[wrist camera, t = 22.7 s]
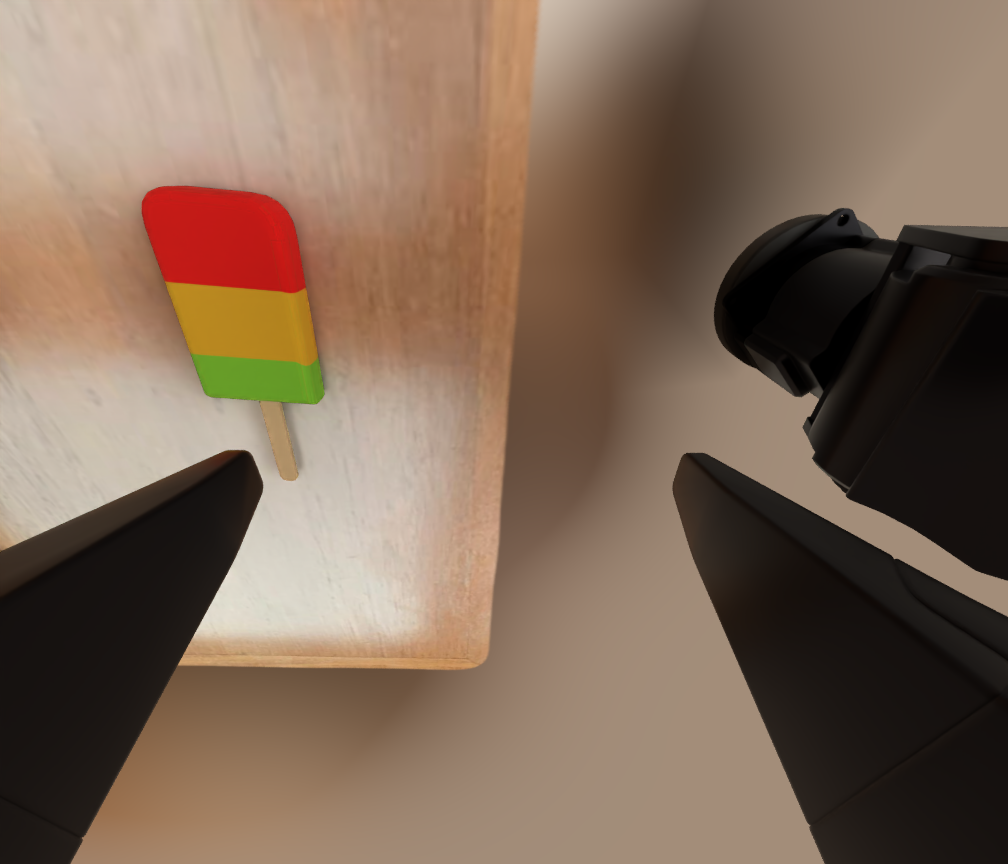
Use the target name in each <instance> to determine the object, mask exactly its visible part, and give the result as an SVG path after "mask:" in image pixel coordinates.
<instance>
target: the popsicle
mask: <svg viewBox="0 0 1008 864" xmlns="http://www.w3.org/2000/svg"><path fill="white" fill-rule="evenodd" d="M142 216H143V220H144V224H145V228H146V231H147V233H148V236H149V239H150V242H151V245H152V247H153V250H154V253H155V256H156V259H157V261H158V264H159V267H160V270H161V273H162V275H163V278H164V281H165V284H166V286H167V289H168V292H169V295H170V298H171V300H172V303H173V306H174V309H175V312H176V314H177V317H178V320H179V323H180V326H181V328H182V331H183V334H184V337H185V340H186V342H187V345H188V348H189V351H190V353H191V356H192V359H193V362H194V365H195V367H196V370H197V373H198V376H199V379H200V381H201V384H202V387H203V390H204V392H205V394H206V395H207V396H209V397H215V398H230V399H244V400H259V402H260V405H261V409H262V413H263V416H264V420H265V423H266V427H267V431H268V434H269V438H270V441H271V445H272V449H273V452H274V456H275V459H276V463H277V467H278V470H279V474H280V476H281V478H282V479H284V480H288V481H294V480H296V479H297V477H298V470H297V466H296V462H295V457H294V453H293V449H292V445H291V441H290V437H289V433H288V429H287V425H286V421H285V417H284V413H283V409H282V404H281V402H288V403H302V404H317V403H318V402H320V400H321V399H322V398H323V396H324V394H325V393H324V387H323V382H322V376H321V370H320V365H319V359H318V353H317V348H316V342H315V336H314V330H313V325H312V319H311V313H310V308H309V302H308V296H307V291H306V285H305V279H304V274H303V268H302V262H301V257H300V251H299V245H298V239H297V234H296V231H295V227H294V224H293V221H292V219H291V217H290V215H289V213H288V212H287V210H286V209H285V208H284V207H283V206H282V205H281V204H280V203H279V202H278V201H276V200H274V199H272V198H270V197H268V196H266V195H261V194H256V193H252V192H243V191H233V190H223V189H213V188H202V187H192V186H163V187H158V188H156V189H153V190H151V191H149V192H148V193H147V194H146V196H145V197H144V199H143V201H142Z"/></svg>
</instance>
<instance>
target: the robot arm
mask: <svg viewBox="0 0 1008 864" xmlns="http://www.w3.org/2000/svg"><path fill="white" fill-rule="evenodd" d="M842 215H843V219H842V221H841V222H840V223H839V224H837V222H838V219H839V218H840V217H841V216H842ZM734 298H736V302H735V303H734V304H733V305H730V302H731V300H732V299H734ZM722 307H723V308H724V310H725V312H726V313H727V315H728V316H729V318H730V319H731V321H732V322H733V324H734V325H735V327H736V329H737V331H736V332H735V335H734V339H735V340H736V342H737V343H738V345H739V346H740V348H741V349H742V351H743V352H744V354H745V355H746V357H747V358H748V360H749V361H750V363H751V364H752V366H753V367H755V368H756V369H757V370H759V371H760V372H761V373H763V374H764V375H766V376H767V377H768V378H770V379H771V380H772V381H774V382H775V383H777V384H778V385H780V386H781V387H782V388H784V389H785V390H786V391H788V392H789V393H790V394H792V395H793V396H795V397H802V396H804V395H806V394H807V393H809V392H810V393H811V394H813V395H814V396H816V397H817V398H819V401H818V403H817V405H816V407H815V409H814V411H813V413H812V415H811V416H810V417H807V419H806V421H805V423H804V425H803V429H804V431H805V433H806V435H807V436H808V439H809V441H810V443H811V445H812V447H813V449H814V451H815V454H814V456H813V458H812V459H813V460H814V462H815V463H816V465H817V466H818V467H819V468H820V469H821V470H822V471H823V472H825V473H826V474H827V475H828V476H829V477H831V479H832V480H833V481H834V483H835V484H836V485H837V486H838V487H840V488H841V490H842V491H843V492H845V493H846V497H847V498H849V499H850V500H852V501H854V502H857V503H859V504H862V505H864V506H867V507H869V508H872V509H874V510H877V511H879V512H881V513H884V514H886V515H887V516H889V517H891V518H893V519H895V520H897V521H899V522H901V523H903V524H905V525H907V526H908V527H910V528H912V529H914V530H915V531H917V532H918V533H920V534H922V535H923V536H925V537H927V538H928V539H930V540H931V541H933V542H934V543H936V544H937V545H939V546H940V547H941V548H943V549H944V550H946V551H947V552H949V553H951V554H952V555H953V556H955V557H956V558H958V559H959V560H961V561H962V562H963V563H965V564H966V565H968V566H970V567H971V568H972V569H974V570H976V571H978V572H981V573H984V574H987V575H991V576H994V577H998V578H1001V579H1004V580H1008V227H975V226H930V225H904V227H903V229H902V231H901V232H900V234H899V237H898V239H897V240H896V241H894V240H886V239H881V238H874V237H867V236H864V235H863V232H862V230H861V227H860V225H859V223H858V220H857V218H856V216H855V213H854V211H853V210H852V209H849V208H839V209H836V210H835V211H833V212H832V213H830V214H829V215H828V216H826V217H825V218H824V219H823V220H821V221H820V222H819V223H817V224H816V225H815V226H814V227H812V228H811V229H810V230H808V231H807V232H806V233H805V234H803V235H802V236H801V237H799V238H798V239H797V240H795V241H794V242H793V243H792V244H790V245H789V246H788V247H786V248H785V249H784V250H783V251H781V252H780V253H779V254H777V255H776V256H775V257H774V258H772V259H771V260H770V261H768V262H767V263H766V264H765V265H763V266H762V267H761V268H759V269H758V270H757V271H755V272H754V273H753V274H752V275H750V276H749V277H748V278H746V279H745V280H744V281H743V282H741V283H740V284H739V285H737V286H736V287H735V288H734V289H732V290H731V291H730V292H728V293H727V294H726V295H725V296H724V298H723V300H722ZM262 492H263V481H262V478H261V475H260V473H259V470H258V468H257V466H256V463H255V461H254V458H253V456H252V454H251V453H250V452H248V451H245V450H227V451H223V452H221V453H219V454H217V455H214V456H212V457H210V458H208V459H206V460H203V461H201V462H199V463H197V464H194V465H192V466H190V467H188V468H186V469H183V470H181V471H179V472H177V473H174V474H172V475H170V476H168V477H166V478H163V479H161V480H159V481H157V482H154V483H152V484H150V485H148V486H145V487H143V488H141V489H139V490H137V491H134V492H132V493H130V494H128V495H125V496H123V497H121V498H119V499H117V500H114V501H112V502H110V503H108V504H105V505H103V506H101V507H99V508H97V509H94V510H92V511H90V512H88V513H85V514H83V515H81V516H79V517H76V518H74V519H72V520H70V521H68V522H65V523H63V524H61V525H59V526H56V527H54V528H52V529H50V530H48V531H45V532H43V533H41V534H39V535H36V536H34V537H32V538H30V539H27V540H25V541H23V542H21V543H19V544H16V545H14V546H12V547H10V548H7V549H5V550H3V551H1V552H0V864H70V863H71V861H72V860H73V858H74V856H75V854H76V852H77V850H78V849H79V847H80V845H81V843H82V841H83V839H82V837H84V836H85V835H86V833H87V831H88V829H89V828H90V826H91V824H92V822H93V820H94V818H95V817H96V815H97V813H98V811H99V809H100V807H101V805H102V804H103V802H104V800H105V798H106V796H107V794H108V793H109V791H110V789H111V787H112V785H113V783H114V782H115V779H116V778H117V776H118V774H119V772H120V770H121V769H122V767H123V765H124V763H125V761H126V759H127V758H128V756H129V754H130V752H131V750H132V748H133V746H134V745H135V743H136V741H137V739H138V737H139V735H140V734H141V732H142V730H143V728H144V726H145V724H146V722H147V720H148V718H149V717H150V715H151V713H152V711H153V710H154V708H155V706H156V704H157V702H158V700H159V698H160V697H161V695H162V693H163V691H164V689H165V687H166V686H167V684H168V682H169V680H170V678H171V676H172V674H173V672H174V671H175V669H176V667H177V665H178V663H179V662H180V660H181V658H182V656H183V654H184V652H185V651H186V649H187V647H188V645H189V643H190V641H191V639H192V638H193V636H194V634H195V632H196V630H197V628H198V627H199V625H200V623H201V621H202V619H203V617H204V615H205V614H206V612H207V610H208V608H209V606H210V604H211V603H212V601H213V599H214V597H215V595H216V593H217V591H218V590H219V588H220V586H221V584H222V582H223V580H224V579H225V577H226V575H227V573H228V571H229V569H230V567H231V565H232V563H233V561H234V560H235V558H236V555H237V553H238V551H239V549H240V546H241V544H242V542H243V539H244V537H245V534H246V532H247V529H248V527H249V524H250V522H251V520H252V517H253V515H254V512H255V510H256V507H257V505H258V502H259V500H260V498H261V495H262ZM673 495H674V498H675V501H676V505H677V508H678V512H679V515H680V518H681V521H682V525H683V528H684V531H685V535H686V538H687V541H688V544H689V548H690V551H691V553H692V556H693V559H694V562H695V564H696V566H697V569H698V571H699V574H700V576H701V578H702V580H703V583H704V585H705V587H706V590H707V592H708V594H709V596H710V599H711V601H712V603H713V606H714V608H715V610H716V613H717V615H718V617H719V620H720V622H721V624H722V627H723V629H724V631H725V633H726V636H727V638H728V641H729V643H730V645H731V648H732V649H733V652H734V654H735V657H736V659H737V661H738V664H739V666H740V668H741V671H742V673H743V675H744V678H745V680H746V682H747V685H748V687H749V689H750V691H751V694H752V696H753V698H754V701H755V703H756V705H757V707H758V710H759V712H760V714H761V717H762V719H763V721H764V723H765V726H766V728H767V731H768V733H769V735H770V738H771V740H772V742H773V745H774V747H775V749H776V752H777V754H778V756H779V758H780V760H781V763H782V765H783V768H784V770H785V772H786V774H787V777H788V779H789V782H790V784H791V786H792V788H793V791H794V793H795V795H796V798H797V800H798V802H799V805H800V807H801V809H802V812H803V814H804V816H805V819H806V821H807V823H808V824H809V825H811V826H810V827H809V828H810V831H811V833H812V836H813V838H814V840H815V843H816V845H817V847H818V849H819V852H820V854H821V857H822V859H823V861H824V863H825V864H1008V617H1007V616H1005V615H1003V614H1001V613H999V612H997V611H995V610H993V609H991V608H989V607H987V606H985V605H983V604H981V603H979V602H977V601H975V600H973V599H971V598H969V597H968V596H966V595H964V594H962V593H960V592H958V591H956V590H954V589H953V588H951V587H949V586H947V585H945V584H943V583H941V582H939V581H938V580H936V579H934V578H932V577H930V576H928V575H926V574H925V573H923V572H921V571H919V570H917V569H915V568H914V567H912V566H910V565H908V564H906V563H905V562H903V561H901V560H899V559H894V558H893V557H892V556H891V555H890V554H888V553H886V552H884V551H882V550H881V549H879V548H877V547H875V546H873V545H872V544H870V543H868V542H866V541H864V540H862V539H861V538H859V537H857V536H855V535H853V534H851V533H850V532H848V531H846V530H844V529H842V528H840V527H839V526H837V525H835V524H833V523H831V522H830V521H828V520H826V519H824V518H822V517H820V516H819V515H817V514H815V513H813V512H811V511H809V510H808V509H806V508H804V507H802V506H800V505H799V504H797V503H795V502H793V501H791V500H789V499H788V498H786V497H784V496H782V495H780V494H779V493H776V492H775V491H773V490H771V489H769V488H768V487H766V486H764V485H762V484H760V483H758V482H756V481H755V480H753V479H751V478H749V477H748V476H746V475H744V474H742V473H740V472H738V471H737V470H735V469H733V468H731V467H729V466H727V465H726V464H724V463H722V462H720V461H718V460H717V459H715V458H713V457H711V456H709V455H707V454H705V453H686V454H684V455H683V456H682V458H681V460H680V463H679V466H678V470H677V472H676V475H675V478H674V482H673Z"/></svg>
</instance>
